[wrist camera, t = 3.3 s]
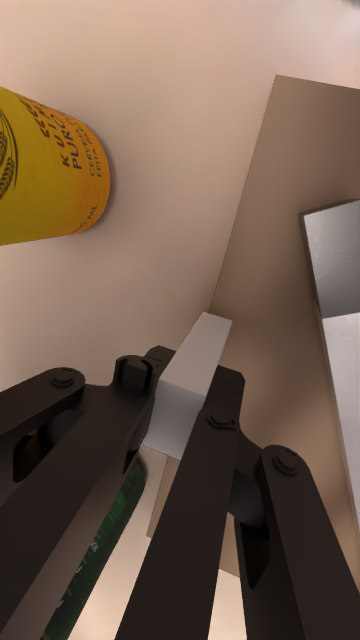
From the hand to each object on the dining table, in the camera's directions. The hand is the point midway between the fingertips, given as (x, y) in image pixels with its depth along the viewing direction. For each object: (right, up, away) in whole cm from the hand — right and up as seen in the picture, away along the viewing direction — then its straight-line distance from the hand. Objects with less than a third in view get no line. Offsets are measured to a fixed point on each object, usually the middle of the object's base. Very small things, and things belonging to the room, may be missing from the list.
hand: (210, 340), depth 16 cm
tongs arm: (+8, -5, +1) cm, 10 cm away
